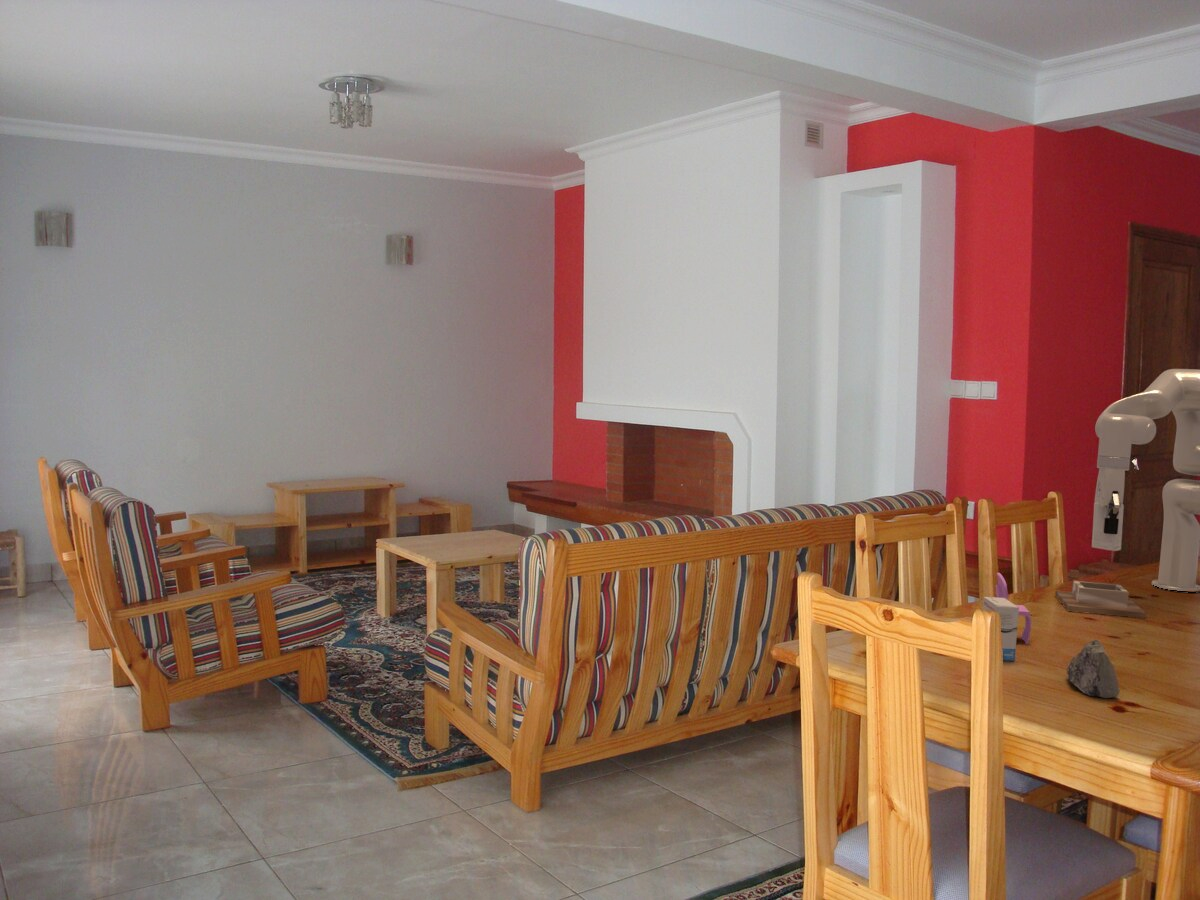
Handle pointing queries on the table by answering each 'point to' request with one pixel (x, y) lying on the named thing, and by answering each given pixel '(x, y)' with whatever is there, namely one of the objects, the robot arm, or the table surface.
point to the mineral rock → (1094, 671)
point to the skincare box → (1098, 534)
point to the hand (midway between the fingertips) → (1107, 531)
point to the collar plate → (1099, 599)
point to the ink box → (1005, 623)
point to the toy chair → (1002, 593)
